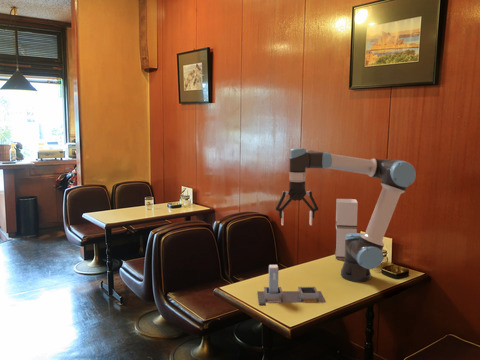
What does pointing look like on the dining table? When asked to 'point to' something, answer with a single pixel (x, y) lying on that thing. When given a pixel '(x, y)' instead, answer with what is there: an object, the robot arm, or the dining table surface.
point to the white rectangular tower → (345, 223)
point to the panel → (290, 296)
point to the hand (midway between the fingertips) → (296, 224)
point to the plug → (273, 279)
